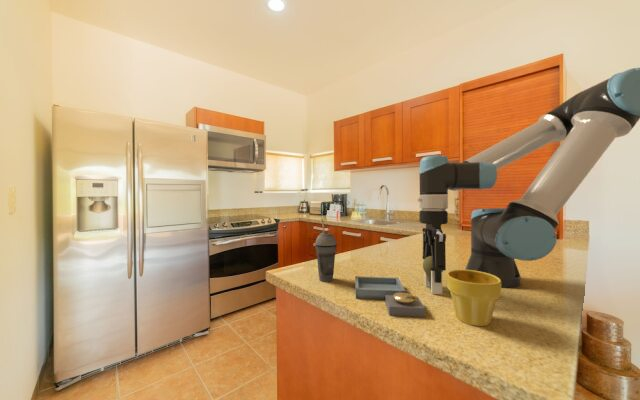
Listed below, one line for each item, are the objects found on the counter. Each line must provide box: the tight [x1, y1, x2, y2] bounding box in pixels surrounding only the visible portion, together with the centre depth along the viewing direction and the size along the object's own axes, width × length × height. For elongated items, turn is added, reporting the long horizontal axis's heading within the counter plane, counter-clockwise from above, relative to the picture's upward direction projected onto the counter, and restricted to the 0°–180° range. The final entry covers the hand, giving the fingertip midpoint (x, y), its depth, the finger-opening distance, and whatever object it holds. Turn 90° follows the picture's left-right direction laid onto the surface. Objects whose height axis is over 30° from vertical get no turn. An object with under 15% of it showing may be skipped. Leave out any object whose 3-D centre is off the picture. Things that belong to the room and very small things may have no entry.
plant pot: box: [446, 269, 502, 327], centre depth 57 cm, size 10×10×10 cm
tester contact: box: [393, 292, 415, 303], centre depth 62 cm, size 5×5×1 cm
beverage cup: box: [314, 218, 338, 283], centre depth 84 cm, size 7×7×20 cm
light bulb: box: [422, 256, 444, 290], centre depth 75 cm, size 6×6×10 cm
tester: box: [384, 294, 426, 318], centre depth 62 cm, size 8×7×3 cm
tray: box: [354, 275, 407, 301], centre depth 74 cm, size 13×11×2 cm
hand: (433, 288), depth 75 cm, fingers closed on light bulb, 6 cm apart
